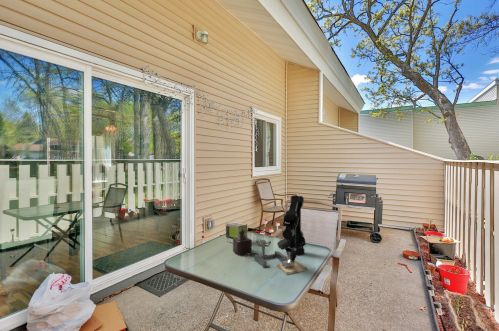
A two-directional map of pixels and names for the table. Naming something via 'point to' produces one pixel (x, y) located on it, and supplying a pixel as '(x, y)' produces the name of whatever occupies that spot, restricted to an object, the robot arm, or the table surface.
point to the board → (292, 268)
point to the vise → (262, 259)
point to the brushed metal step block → (288, 261)
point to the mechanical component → (263, 245)
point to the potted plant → (242, 244)
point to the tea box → (234, 230)
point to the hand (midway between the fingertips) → (291, 260)
